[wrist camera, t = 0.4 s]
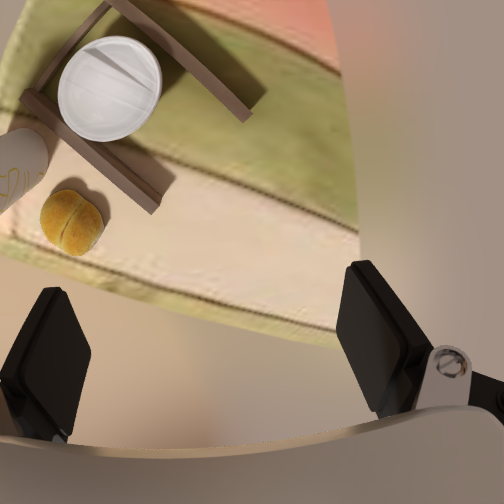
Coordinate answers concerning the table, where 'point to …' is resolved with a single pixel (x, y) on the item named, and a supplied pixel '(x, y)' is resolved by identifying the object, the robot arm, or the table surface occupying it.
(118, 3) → the walnut open-sided frame
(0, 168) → the cup
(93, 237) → the bread roll
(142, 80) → the ramekin
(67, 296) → the robot arm
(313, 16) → the table surface
